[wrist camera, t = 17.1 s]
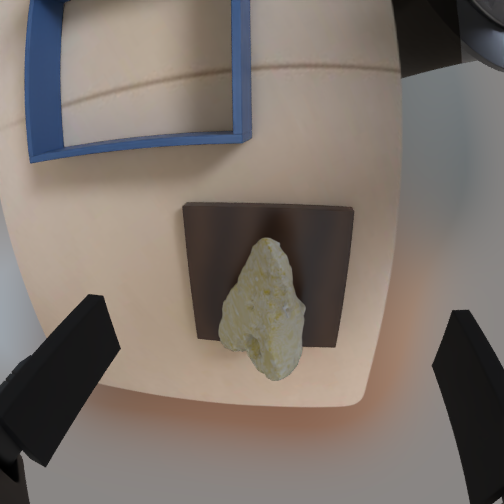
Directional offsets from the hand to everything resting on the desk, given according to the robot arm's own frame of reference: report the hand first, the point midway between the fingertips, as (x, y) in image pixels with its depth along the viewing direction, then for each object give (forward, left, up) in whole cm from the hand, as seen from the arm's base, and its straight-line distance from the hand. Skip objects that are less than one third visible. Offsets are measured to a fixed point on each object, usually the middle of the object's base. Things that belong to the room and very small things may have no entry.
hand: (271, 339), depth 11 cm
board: (+2, +11, -24) cm, 27 cm away
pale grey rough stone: (+3, +11, -23) cm, 26 cm away
